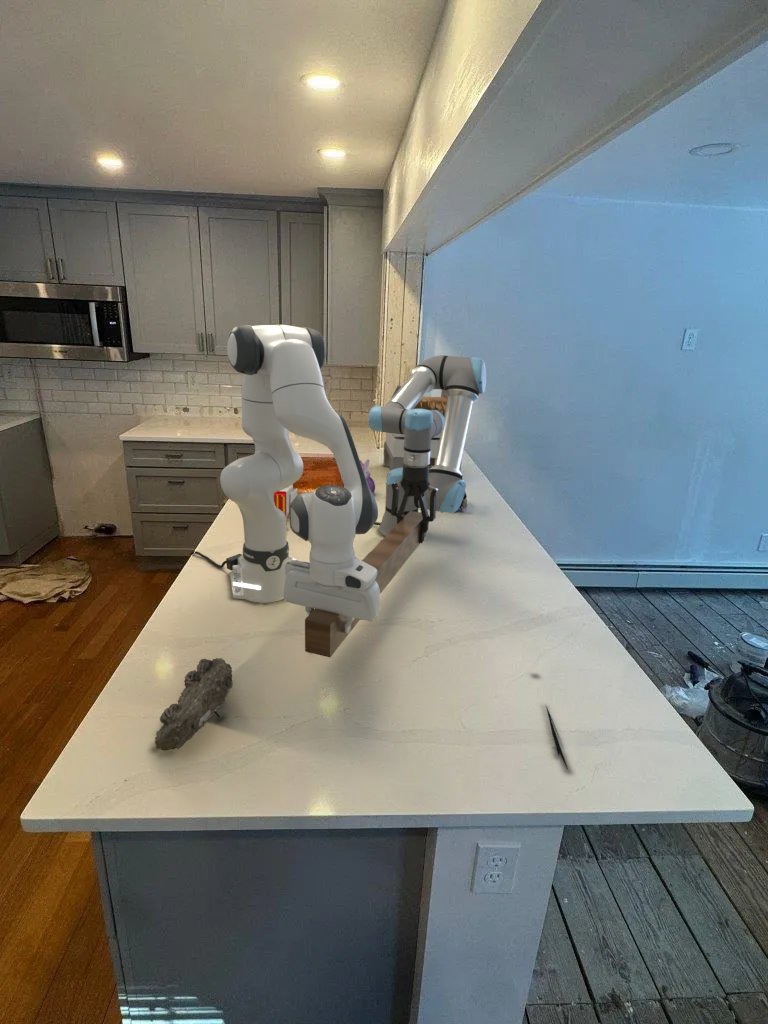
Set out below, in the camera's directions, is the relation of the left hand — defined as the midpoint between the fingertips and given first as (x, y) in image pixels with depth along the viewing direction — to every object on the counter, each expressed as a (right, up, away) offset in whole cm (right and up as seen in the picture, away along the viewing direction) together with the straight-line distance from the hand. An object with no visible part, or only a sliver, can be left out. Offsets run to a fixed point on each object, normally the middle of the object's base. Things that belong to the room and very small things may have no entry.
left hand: (330, 628), depth 117 cm
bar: (+10, +6, +26) cm, 29 cm away
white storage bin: (+28, +43, +158) cm, 166 cm away
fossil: (-24, -15, -9) cm, 30 cm away
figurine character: (+40, +26, +112) cm, 122 cm away
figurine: (+3, +31, +122) cm, 126 cm away
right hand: (+19, +16, +52) cm, 57 cm away
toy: (-28, +22, +94) cm, 101 cm away
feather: (+44, -17, -5) cm, 47 cm away
